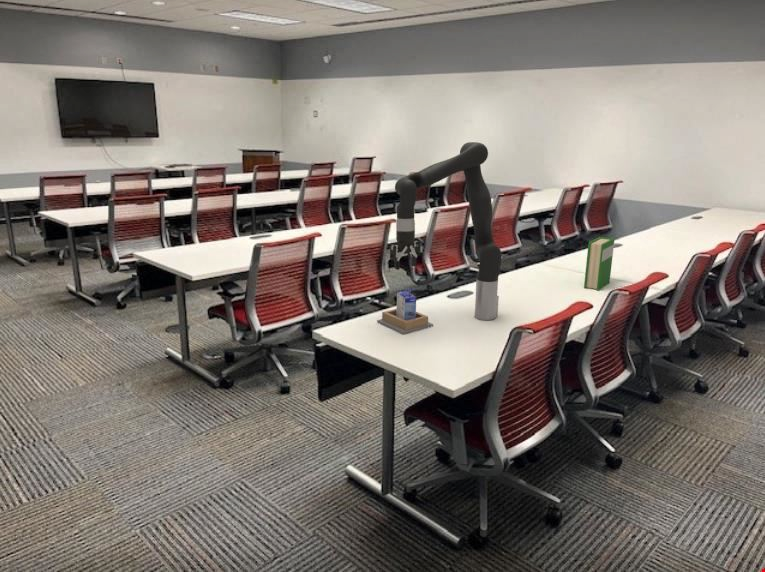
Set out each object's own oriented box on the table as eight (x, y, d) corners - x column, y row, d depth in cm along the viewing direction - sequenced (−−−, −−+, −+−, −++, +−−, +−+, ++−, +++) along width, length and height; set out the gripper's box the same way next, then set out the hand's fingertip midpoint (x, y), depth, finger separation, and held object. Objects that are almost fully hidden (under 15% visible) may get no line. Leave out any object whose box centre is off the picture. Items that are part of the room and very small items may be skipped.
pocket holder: (406, 314, 254) (406, 305, 252) (433, 326, 240) (433, 316, 239) (377, 322, 244) (377, 312, 243) (403, 334, 231) (403, 324, 229)
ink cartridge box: (416, 325, 238) (417, 291, 234) (404, 326, 237) (404, 293, 233) (407, 317, 247) (408, 285, 243) (395, 319, 246) (396, 286, 242)
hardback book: (598, 290, 288) (603, 244, 281) (583, 288, 293) (588, 242, 286) (609, 283, 302) (614, 238, 295) (595, 280, 306) (600, 236, 299)
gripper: (413, 225, 237) (412, 263, 242) (385, 229, 229) (386, 268, 234) (425, 228, 232) (424, 266, 236) (397, 232, 223) (397, 272, 228)
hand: (405, 267), depth 235 cm, fingers open, 8 cm apart
